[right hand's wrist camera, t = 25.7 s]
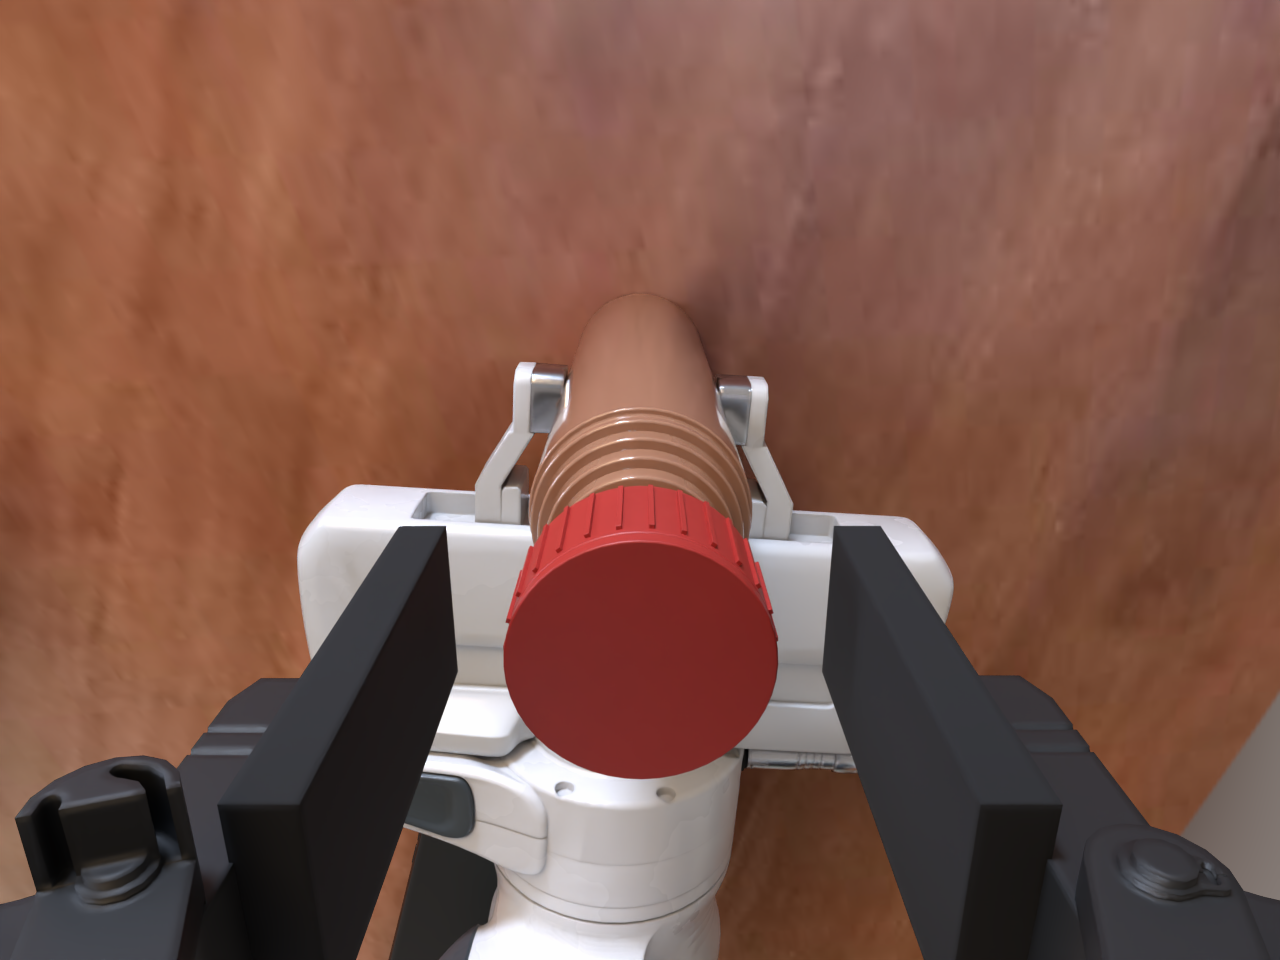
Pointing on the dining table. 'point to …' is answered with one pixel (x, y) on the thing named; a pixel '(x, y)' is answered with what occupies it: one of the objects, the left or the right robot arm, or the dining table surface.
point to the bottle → (640, 417)
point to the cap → (640, 635)
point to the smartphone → (442, 899)
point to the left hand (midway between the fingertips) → (640, 372)
